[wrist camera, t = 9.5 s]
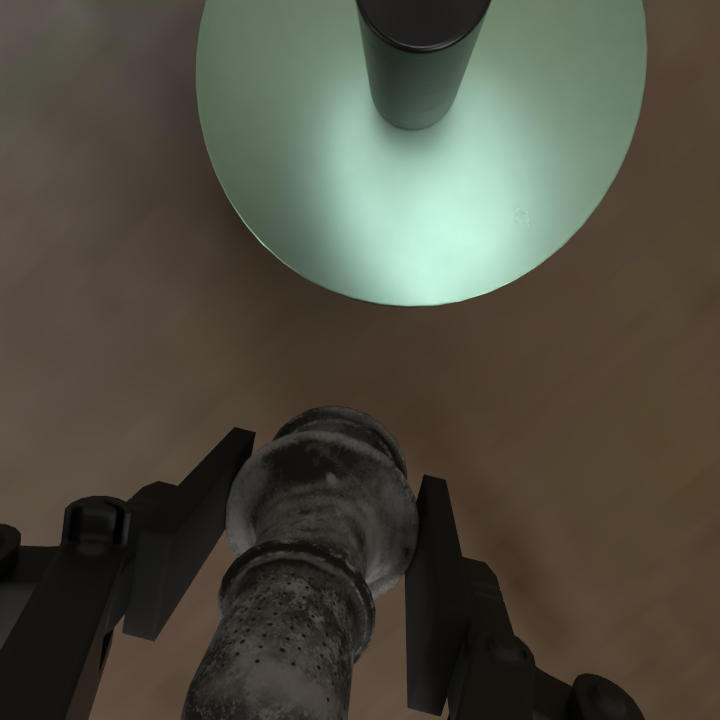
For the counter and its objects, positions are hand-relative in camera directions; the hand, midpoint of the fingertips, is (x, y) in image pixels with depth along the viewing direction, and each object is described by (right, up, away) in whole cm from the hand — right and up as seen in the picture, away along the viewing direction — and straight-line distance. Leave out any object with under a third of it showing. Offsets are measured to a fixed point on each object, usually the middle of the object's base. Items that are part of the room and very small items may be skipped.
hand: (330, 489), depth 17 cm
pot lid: (+3, +12, -3) cm, 13 cm away
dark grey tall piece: (0, 0, +1) cm, 2 cm away
